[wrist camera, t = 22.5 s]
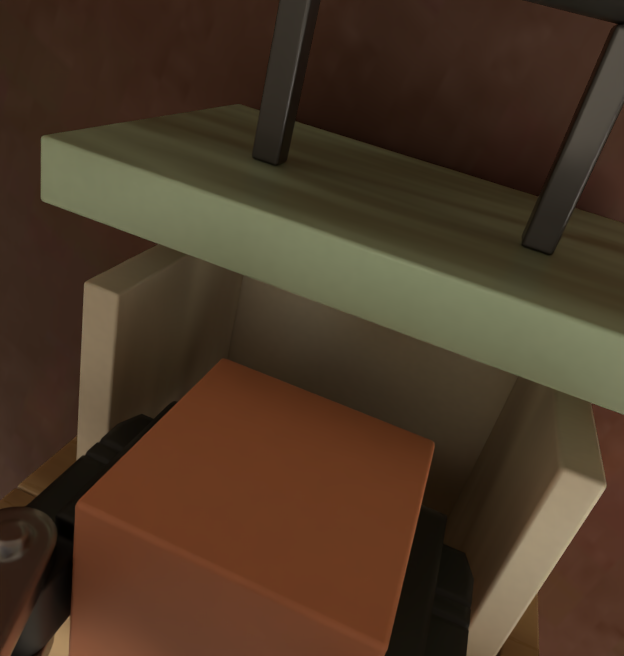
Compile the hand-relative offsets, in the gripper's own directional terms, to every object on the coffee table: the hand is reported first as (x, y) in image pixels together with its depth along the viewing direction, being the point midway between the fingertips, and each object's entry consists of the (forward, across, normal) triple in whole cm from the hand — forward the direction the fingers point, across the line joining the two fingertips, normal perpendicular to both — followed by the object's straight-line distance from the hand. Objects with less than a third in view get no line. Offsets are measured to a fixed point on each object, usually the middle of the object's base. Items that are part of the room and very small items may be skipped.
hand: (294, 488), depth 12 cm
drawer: (+7, 0, -1) cm, 8 cm away
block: (0, 0, 0) cm, 0 cm away
